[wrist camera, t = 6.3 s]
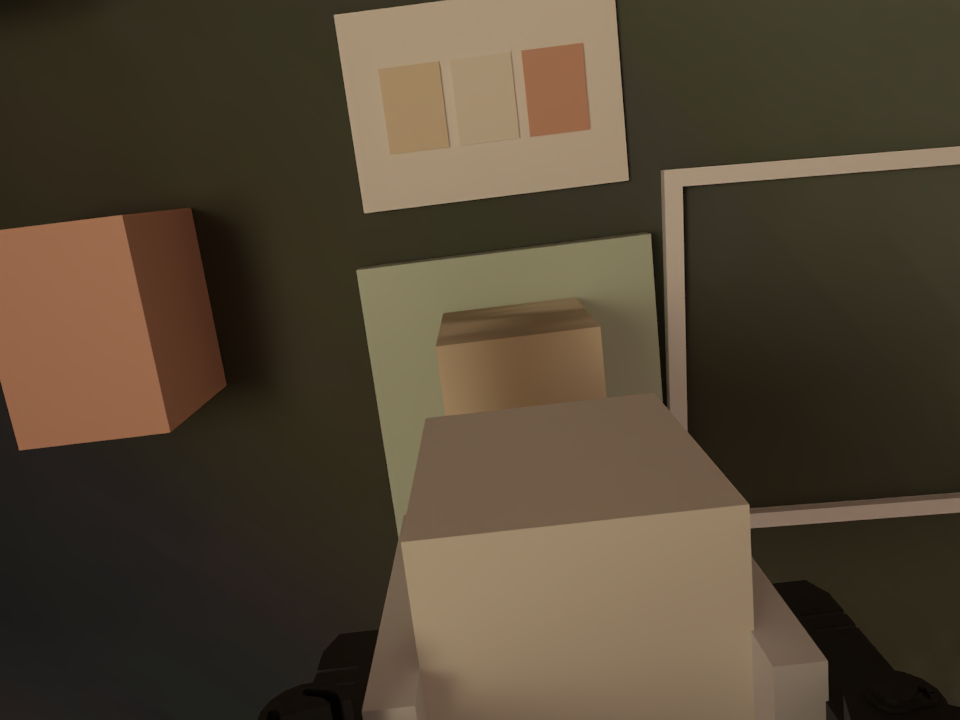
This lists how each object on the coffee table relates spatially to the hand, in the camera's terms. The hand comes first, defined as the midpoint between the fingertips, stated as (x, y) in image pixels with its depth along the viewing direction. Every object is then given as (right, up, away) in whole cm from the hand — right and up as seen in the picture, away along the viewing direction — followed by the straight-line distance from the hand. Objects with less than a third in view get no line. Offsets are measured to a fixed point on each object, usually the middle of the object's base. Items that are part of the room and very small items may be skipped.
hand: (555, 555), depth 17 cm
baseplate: (0, +3, +14) cm, 14 cm away
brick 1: (-15, +6, +13) cm, 21 cm away
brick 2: (0, +3, +13) cm, 13 cm away
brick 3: (0, 0, 0) cm, 0 cm away
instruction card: (-1, +14, +11) cm, 18 cm away
